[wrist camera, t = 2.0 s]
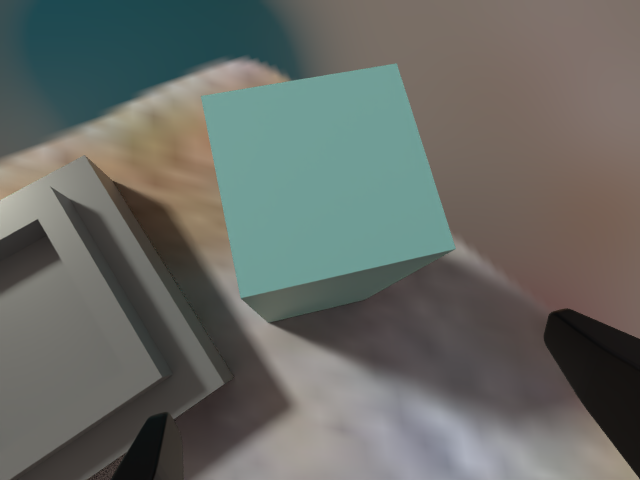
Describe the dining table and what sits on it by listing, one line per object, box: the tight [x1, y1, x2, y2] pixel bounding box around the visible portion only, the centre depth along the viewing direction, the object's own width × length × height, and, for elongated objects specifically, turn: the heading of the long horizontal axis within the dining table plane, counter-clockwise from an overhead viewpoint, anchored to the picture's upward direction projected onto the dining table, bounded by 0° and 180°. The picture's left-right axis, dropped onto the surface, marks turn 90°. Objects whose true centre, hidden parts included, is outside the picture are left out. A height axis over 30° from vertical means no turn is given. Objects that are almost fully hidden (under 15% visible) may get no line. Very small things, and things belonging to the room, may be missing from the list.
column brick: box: [201, 64, 456, 323], centre depth 16 cm, size 5×5×12 cm
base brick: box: [0, 155, 234, 480], centre depth 17 cm, size 12×12×4 cm
